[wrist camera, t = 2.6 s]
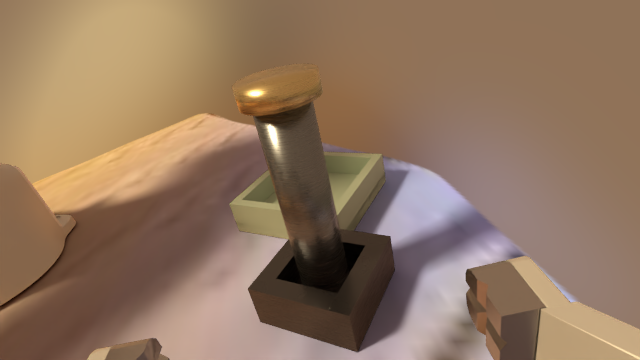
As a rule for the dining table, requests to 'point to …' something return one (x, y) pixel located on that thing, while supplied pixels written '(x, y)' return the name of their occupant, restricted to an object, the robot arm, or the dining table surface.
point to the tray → (346, 184)
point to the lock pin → (297, 167)
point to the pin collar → (327, 292)
